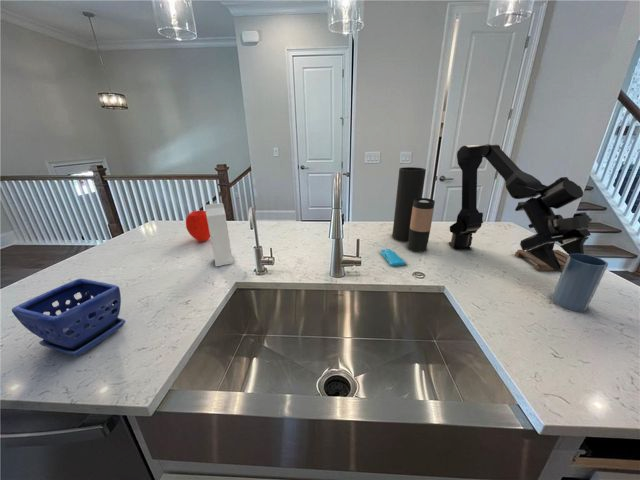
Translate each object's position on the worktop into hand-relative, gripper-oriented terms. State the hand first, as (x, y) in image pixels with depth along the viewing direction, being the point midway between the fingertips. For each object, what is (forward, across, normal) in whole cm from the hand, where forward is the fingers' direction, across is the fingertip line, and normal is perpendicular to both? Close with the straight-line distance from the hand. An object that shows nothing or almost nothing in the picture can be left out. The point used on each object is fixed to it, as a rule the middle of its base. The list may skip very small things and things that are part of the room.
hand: (571, 267), depth 70 cm
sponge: (-18, -32, +32) cm, 49 cm away
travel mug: (-22, -18, +36) cm, 46 cm away
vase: (-31, -16, +44) cm, 56 cm away
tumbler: (+9, 0, +5) cm, 10 cm away
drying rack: (-5, +20, +18) cm, 27 cm away
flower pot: (-7, -122, +21) cm, 124 cm away
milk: (-30, -93, +44) cm, 107 cm away
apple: (-48, -103, +61) cm, 129 cm away
